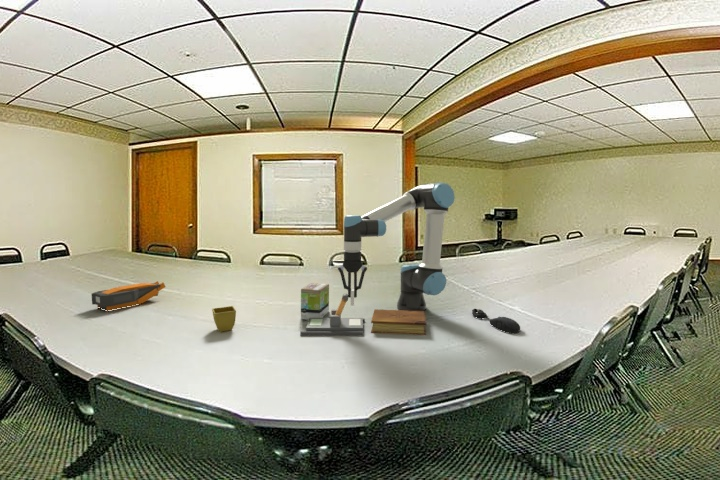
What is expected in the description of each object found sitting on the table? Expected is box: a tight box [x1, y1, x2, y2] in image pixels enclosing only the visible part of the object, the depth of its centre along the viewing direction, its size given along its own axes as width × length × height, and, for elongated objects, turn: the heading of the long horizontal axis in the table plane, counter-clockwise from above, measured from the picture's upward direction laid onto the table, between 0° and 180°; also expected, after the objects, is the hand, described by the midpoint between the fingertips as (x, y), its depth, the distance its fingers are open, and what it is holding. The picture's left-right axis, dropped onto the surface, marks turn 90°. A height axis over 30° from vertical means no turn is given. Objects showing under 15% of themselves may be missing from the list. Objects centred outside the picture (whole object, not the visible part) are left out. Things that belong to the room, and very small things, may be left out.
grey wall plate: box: [299, 317, 366, 337], centre depth 165 cm, size 27×19×1 cm
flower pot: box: [211, 305, 237, 333], centre depth 163 cm, size 9×9×9 cm
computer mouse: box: [471, 308, 521, 334], centre depth 173 cm, size 9×32×6 cm, turn 17°
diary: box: [370, 308, 427, 336], centre depth 167 cm, size 23×19×6 cm
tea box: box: [300, 282, 330, 321], centre depth 183 cm, size 15×10×15 cm
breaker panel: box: [305, 308, 364, 332], centre depth 165 cm, size 24×14×7 cm, turn 90°
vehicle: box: [91, 280, 166, 312], centre depth 204 cm, size 14×34×10 cm, turn 147°
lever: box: [335, 293, 349, 317], centre depth 164 cm, size 3×6×13 cm, turn 2°
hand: (352, 304), depth 164 cm, fingers closed
